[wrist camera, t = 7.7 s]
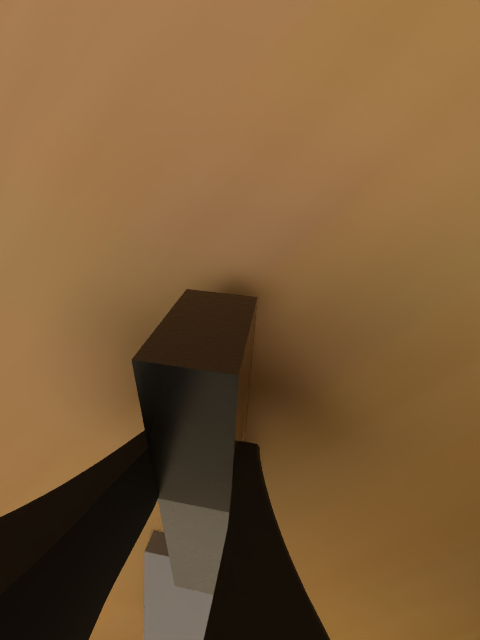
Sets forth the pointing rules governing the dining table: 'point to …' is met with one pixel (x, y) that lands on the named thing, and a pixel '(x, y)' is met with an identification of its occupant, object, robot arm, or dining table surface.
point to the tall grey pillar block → (196, 423)
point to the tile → (170, 599)
